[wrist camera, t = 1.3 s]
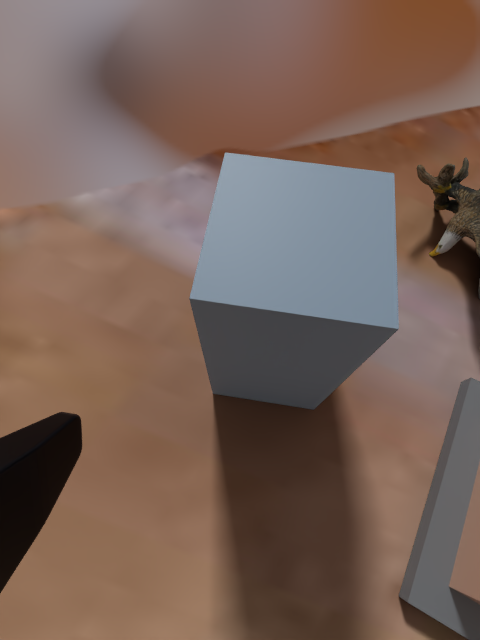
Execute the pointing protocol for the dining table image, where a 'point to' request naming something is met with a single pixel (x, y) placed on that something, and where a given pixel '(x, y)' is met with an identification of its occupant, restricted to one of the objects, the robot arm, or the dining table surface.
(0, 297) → the dining table surface
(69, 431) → the robot arm
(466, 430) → the tower base
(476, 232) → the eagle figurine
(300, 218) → the slate blue brick
